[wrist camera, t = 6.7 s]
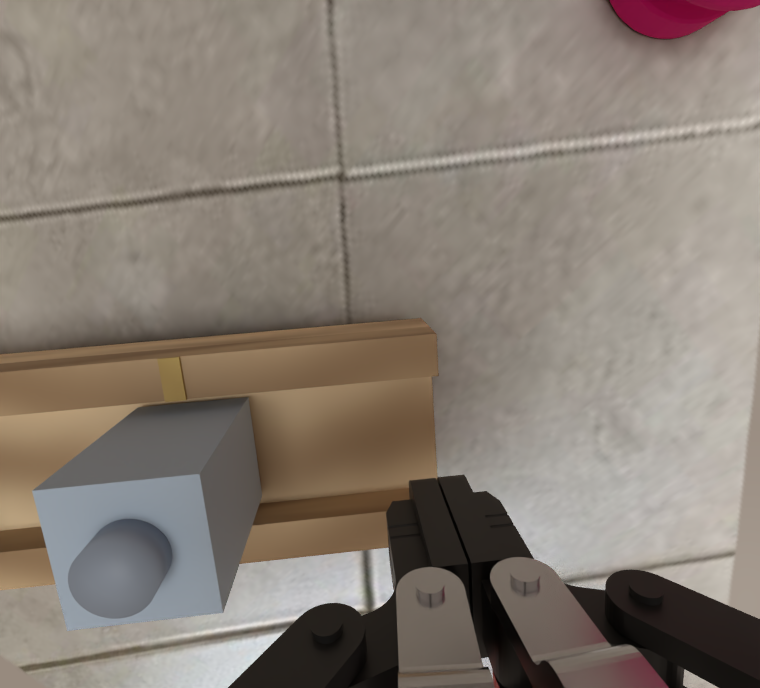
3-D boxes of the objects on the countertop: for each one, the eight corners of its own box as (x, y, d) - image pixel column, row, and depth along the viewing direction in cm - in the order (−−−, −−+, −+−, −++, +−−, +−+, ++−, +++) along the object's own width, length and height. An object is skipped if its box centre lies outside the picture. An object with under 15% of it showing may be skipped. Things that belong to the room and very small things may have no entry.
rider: (137, 407, 17) (2, 513, 11) (248, 397, 18) (186, 494, 11) (156, 506, 18) (43, 663, 11) (262, 495, 18) (213, 643, 12)
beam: (-25, 345, 22) (-329, 429, 12) (411, 308, 23) (459, 357, 13) (16, 506, 23) (-219, 695, 14) (421, 465, 24) (470, 613, 15)
